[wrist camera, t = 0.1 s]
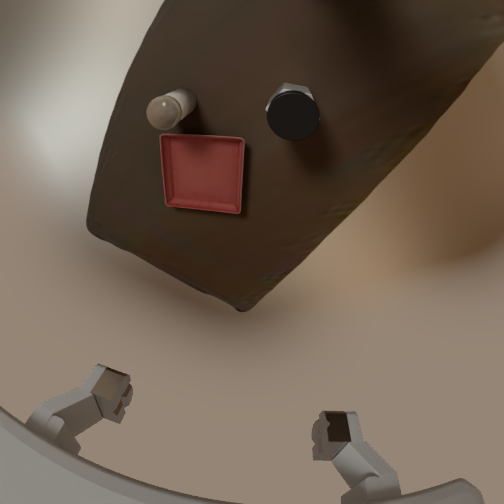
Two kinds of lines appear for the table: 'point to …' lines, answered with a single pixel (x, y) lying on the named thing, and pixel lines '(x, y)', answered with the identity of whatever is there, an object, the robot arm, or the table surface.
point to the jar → (292, 112)
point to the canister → (171, 108)
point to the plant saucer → (202, 171)
